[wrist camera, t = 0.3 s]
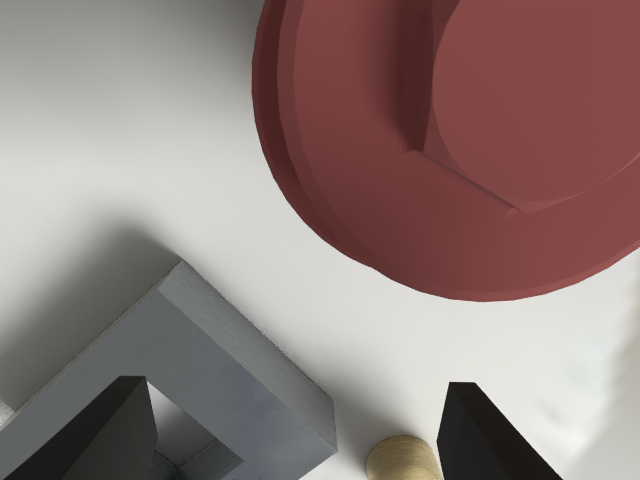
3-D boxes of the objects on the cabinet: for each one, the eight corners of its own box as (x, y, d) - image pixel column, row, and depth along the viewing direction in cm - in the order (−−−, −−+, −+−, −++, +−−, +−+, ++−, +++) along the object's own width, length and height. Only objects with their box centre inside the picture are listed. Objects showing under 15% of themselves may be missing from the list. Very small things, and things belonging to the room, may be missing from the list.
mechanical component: (553, 52, 17) (424, 248, 20) (349, -88, 16) (236, 146, 18) (1069, -74, 6) (595, 448, 8) (479, -687, 4) (105, 211, 6)
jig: (168, 523, 25) (147, 588, 21) (14, 412, 22) (-39, 466, 19) (332, 400, 22) (337, 451, 19) (182, 259, 20) (156, 289, 16)
